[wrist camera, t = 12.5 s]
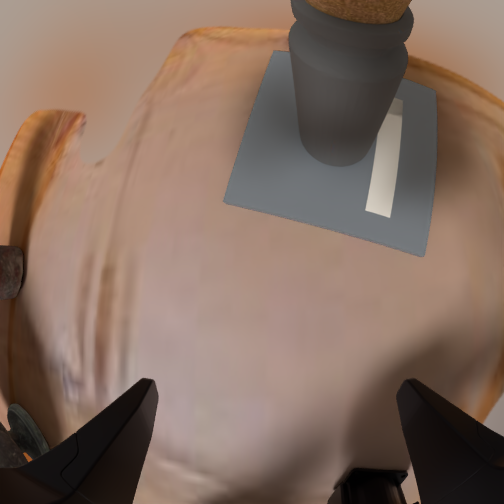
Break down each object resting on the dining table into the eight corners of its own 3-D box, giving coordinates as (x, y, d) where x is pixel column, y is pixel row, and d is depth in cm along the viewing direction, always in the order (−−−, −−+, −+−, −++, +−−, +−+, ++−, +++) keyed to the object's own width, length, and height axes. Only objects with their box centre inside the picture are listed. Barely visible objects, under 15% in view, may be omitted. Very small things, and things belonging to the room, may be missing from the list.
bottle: (284, 138, 20) (239, -28, 5) (326, 93, 20) (325, -62, 5) (345, 182, 19) (402, 25, 4) (384, 132, 18) (448, -15, 4)
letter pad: (433, 94, 18) (435, 90, 17) (420, 256, 18) (424, 256, 17) (274, 55, 22) (273, 50, 21) (225, 203, 21) (222, 201, 21)
